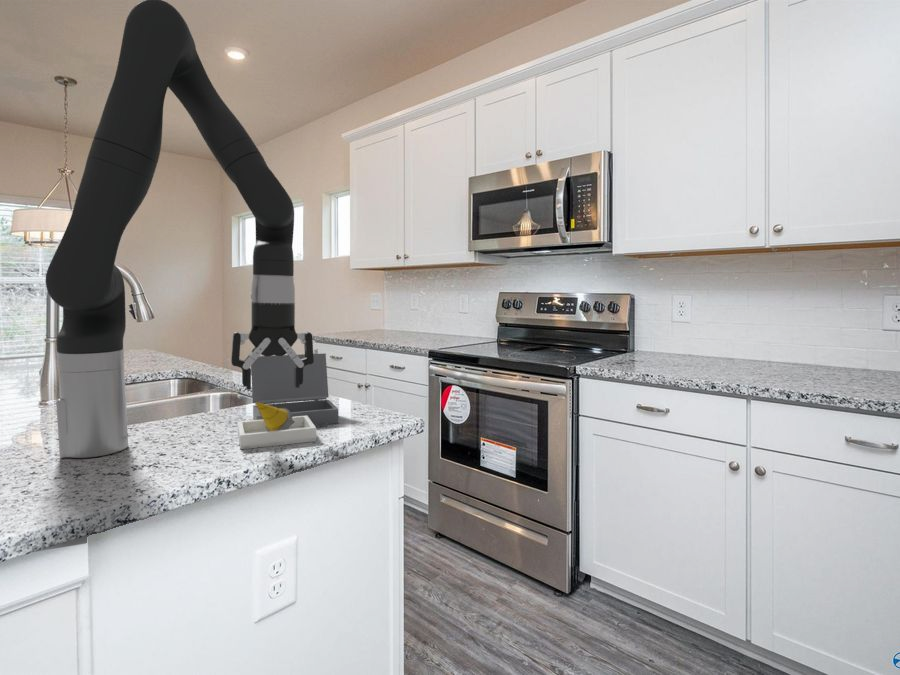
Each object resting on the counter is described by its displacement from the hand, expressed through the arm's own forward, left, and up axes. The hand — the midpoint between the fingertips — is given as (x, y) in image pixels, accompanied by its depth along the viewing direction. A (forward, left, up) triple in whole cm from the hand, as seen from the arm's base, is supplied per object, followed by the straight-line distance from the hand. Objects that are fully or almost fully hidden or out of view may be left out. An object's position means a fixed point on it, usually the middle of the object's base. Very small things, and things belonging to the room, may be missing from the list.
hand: (273, 388), depth 97 cm
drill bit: (0, 0, -9) cm, 9 cm away
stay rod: (+11, +20, -10) cm, 25 cm away
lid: (+5, +17, -1) cm, 18 cm away
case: (+5, +11, -10) cm, 16 cm away
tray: (0, 0, -10) cm, 10 cm away
